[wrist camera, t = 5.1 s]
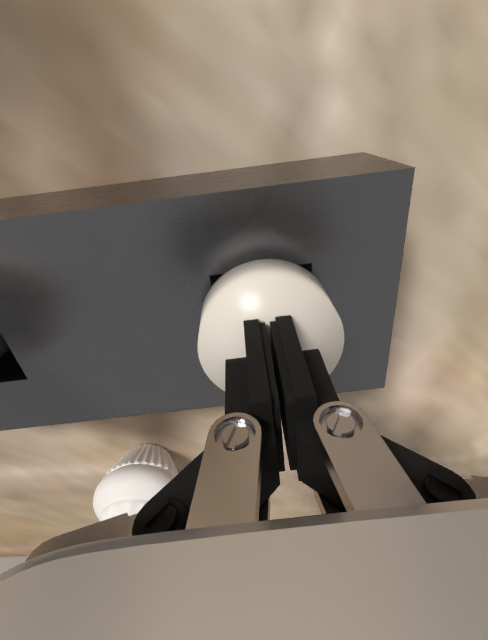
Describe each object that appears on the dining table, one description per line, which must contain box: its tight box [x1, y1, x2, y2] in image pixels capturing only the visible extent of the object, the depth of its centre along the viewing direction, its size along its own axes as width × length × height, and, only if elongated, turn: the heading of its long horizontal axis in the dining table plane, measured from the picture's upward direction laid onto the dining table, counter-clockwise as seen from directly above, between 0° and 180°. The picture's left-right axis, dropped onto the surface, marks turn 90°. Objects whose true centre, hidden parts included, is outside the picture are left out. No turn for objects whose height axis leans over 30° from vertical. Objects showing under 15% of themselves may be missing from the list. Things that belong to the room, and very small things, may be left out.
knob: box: [198, 259, 344, 391], centre depth 15 cm, size 5×5×6 cm
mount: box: [0, 153, 415, 431], centre depth 17 cm, size 24×10×5 cm, turn 96°
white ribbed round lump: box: [93, 444, 178, 521], centre depth 23 cm, size 6×6×7 cm
